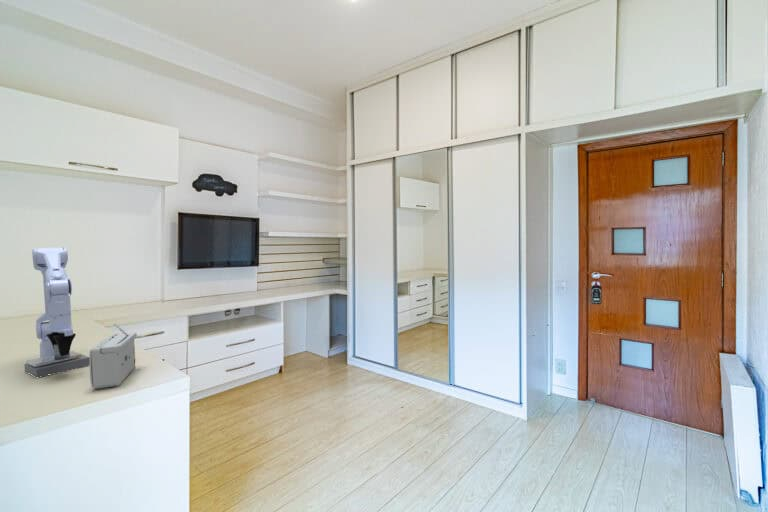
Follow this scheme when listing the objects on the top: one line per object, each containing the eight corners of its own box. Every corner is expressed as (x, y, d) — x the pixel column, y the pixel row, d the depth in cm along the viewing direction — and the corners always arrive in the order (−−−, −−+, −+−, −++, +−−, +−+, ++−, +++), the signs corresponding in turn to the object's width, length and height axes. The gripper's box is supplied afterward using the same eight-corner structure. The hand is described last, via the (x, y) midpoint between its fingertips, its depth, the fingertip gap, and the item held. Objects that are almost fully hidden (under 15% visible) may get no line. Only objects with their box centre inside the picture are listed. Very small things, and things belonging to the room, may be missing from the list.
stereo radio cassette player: (112, 369, 133) (109, 314, 132) (138, 366, 136) (136, 312, 135) (89, 391, 113) (86, 326, 113) (121, 387, 116) (118, 324, 116)
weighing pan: (26, 363, 130) (26, 360, 130) (72, 353, 141) (72, 350, 141) (34, 366, 126) (34, 364, 126) (81, 356, 137) (81, 354, 137)
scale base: (24, 372, 132) (24, 362, 132) (76, 360, 145) (76, 351, 144) (36, 378, 126) (36, 368, 125) (90, 365, 138) (89, 356, 138)
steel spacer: (52, 358, 127) (51, 344, 127) (67, 355, 130) (66, 341, 130) (57, 360, 125) (56, 346, 124) (71, 357, 128) (71, 343, 128)
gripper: (37, 314, 127) (39, 353, 128) (52, 319, 119) (55, 360, 120) (63, 311, 133) (64, 348, 134) (79, 315, 125) (81, 354, 126)
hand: (62, 354), depth 127 cm, fingers closed on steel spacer, 4 cm apart
